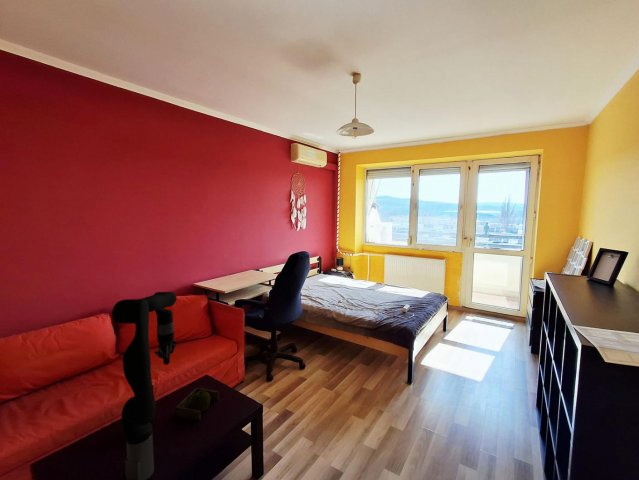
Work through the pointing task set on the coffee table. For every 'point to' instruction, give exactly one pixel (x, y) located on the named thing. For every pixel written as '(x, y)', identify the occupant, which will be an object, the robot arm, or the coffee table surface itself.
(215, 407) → the coffee table surface
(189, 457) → the coffee table surface
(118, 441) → the coffee table surface
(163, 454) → the coffee table surface
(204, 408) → the apple
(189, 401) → the frame
